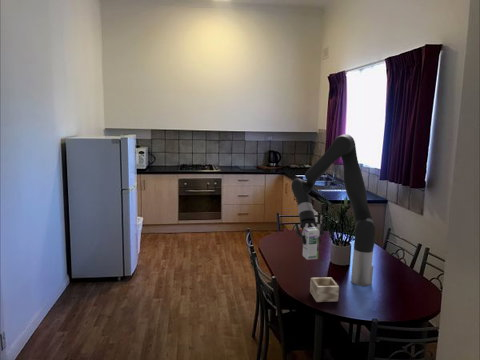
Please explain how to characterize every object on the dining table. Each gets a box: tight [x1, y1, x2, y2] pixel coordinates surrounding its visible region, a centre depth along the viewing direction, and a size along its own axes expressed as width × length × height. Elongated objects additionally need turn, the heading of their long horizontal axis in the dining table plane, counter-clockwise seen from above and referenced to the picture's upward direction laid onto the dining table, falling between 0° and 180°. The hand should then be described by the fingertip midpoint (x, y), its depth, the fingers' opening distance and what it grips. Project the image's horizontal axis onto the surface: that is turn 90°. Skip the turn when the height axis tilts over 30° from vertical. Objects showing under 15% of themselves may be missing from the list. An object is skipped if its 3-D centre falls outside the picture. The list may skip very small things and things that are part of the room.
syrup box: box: [302, 227, 320, 261], centre depth 185 cm, size 6×6×14 cm
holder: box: [309, 276, 340, 303], centre depth 177 cm, size 10×10×7 cm
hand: (312, 243), depth 184 cm, fingers closed on syrup box, 6 cm apart
